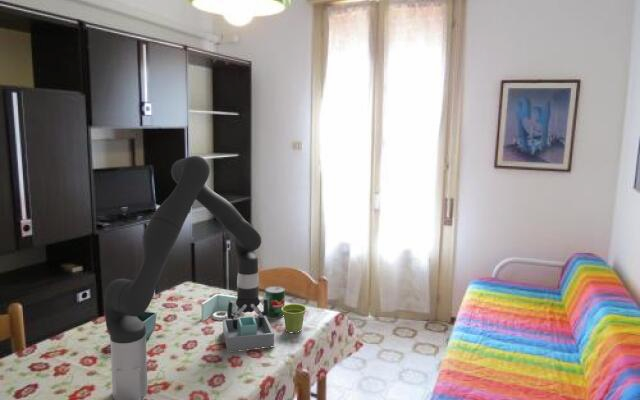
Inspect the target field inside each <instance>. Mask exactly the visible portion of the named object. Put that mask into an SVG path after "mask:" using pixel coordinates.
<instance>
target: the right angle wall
mask: <svg viewBox="0 0 640 400" xmlns="http://www.w3.org/2000/svg"><path fill="white" fill-rule="evenodd" d="M229 300H231V301H236V300H237V296H234V295H227V294H220V293H216V294H214V295H213V296H211V297H210V298H208V299H206V300H205V301H203V302H202V303H201V308H200V309H201V321H205V320H207V319H208V318H209V317H211V316H212V317H211V318H212V320H215V321H218V322H220V321H223V320H226V319H229V318H228V316H227V312H228V301H229ZM237 308H238V306H237V305H234V307H233V308H232V314H234V313H235V311H236V309H237ZM241 314H242V315H243V314H244V312H242V313H241ZM241 314H240V315H241Z"/></svg>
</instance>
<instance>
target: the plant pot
mask: <svg viewBox="0 0 640 400" xmlns="http://www.w3.org/2000/svg"><path fill="white" fill-rule="evenodd" d="M282 311H283V314H284V316H283V317H284V318H283V319H284V327H285V331H286V330H287V331H289V332H294V333H297V332H298V331H300V330H301V329H302V330H303V325H304V324H303V322H304V316H305V314H306V311H307V307H306V306H305V305H303V304H300V303H289V304H284V306H283V307H282ZM302 330H301V331H302ZM287 331H286V332H287ZM301 331H300V332H301ZM289 332H288V333H289ZM298 333H299V332H298Z"/></svg>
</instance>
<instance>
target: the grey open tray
mask: <svg viewBox="0 0 640 400" xmlns="http://www.w3.org/2000/svg"><path fill="white" fill-rule="evenodd" d="M238 318H239V317H238ZM238 318H237V329H236V330H235V328H233V319H229V318H228V319H225V320H222V323H223V324H222V335H223V338H224V342H225V347H226V348H225V349H226V352H227V353H233V352H232V351H236V352H240V351H239V350H245V351H248V350H247V349H253V350H256V349H255V348H262V347H271V346H274V347H275V333H274V330H273V328H272V326H271V324H270V322H269V320H268V317H266V316H263V325H261V327H259V326H258V316H254V318H255V321H256V324H257V334H256V335H247V336H239V333H238ZM271 348H272V347H271ZM262 349H263V348H262Z"/></svg>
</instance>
